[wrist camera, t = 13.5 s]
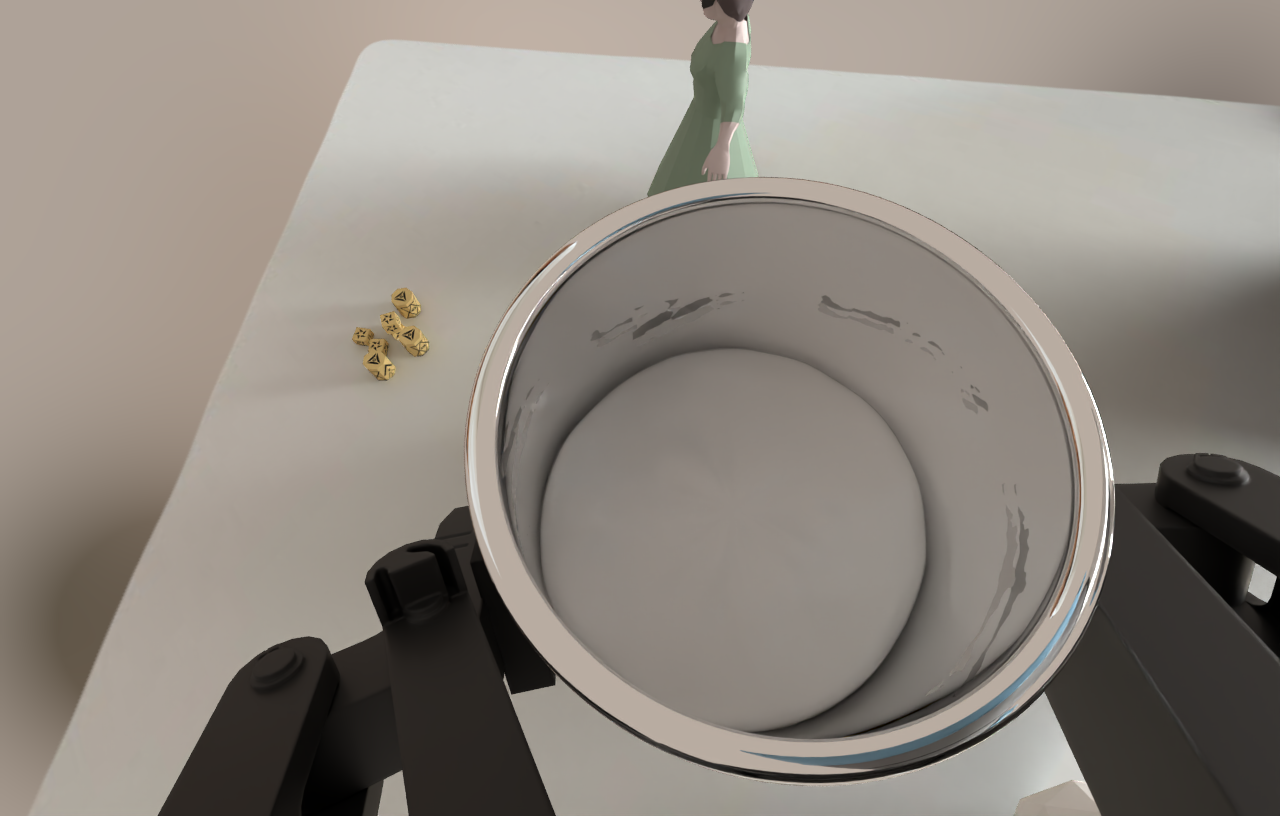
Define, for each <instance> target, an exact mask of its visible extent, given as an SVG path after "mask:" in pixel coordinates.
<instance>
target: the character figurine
mask: <svg viewBox="0 0 1280 816" xmlns="http://www.w3.org/2000/svg"><path fill="white" fill-rule="evenodd" d="M700 1H701V2H702V7H703V11H704V15H705V16H706V17H707V18H708V19H711V20H716V22H715V23H714V24H713V25H712V27H710V29H709V30H708V31H707V32H706V33H705V35H704V36H703V37H702V38H701V39H700V41H699V42H698V43H697V45H696V47H695V49H694V51H693V53H692V55H691V65H690V72H691V74H692V76H693V78H694V80H693V86H694V98H693V100H692V102H691V104H690V106H689V108H688V110H687V112H686V114H685V116H684V118H683V120H682V122H681V124H680V126H679V128H678V130H677V132H676V134H675V136H674V138H673V140H672V142H671V144H670V146H669V148H668V150H667V152H666V154H665V156H664V158H663V159H662V161H661V163H660V165H659V167H658V170H657V172H656V175H655V177H654V179H653V182H652V184H651V187H650V189H649V191H648V194H647V195H648V197H650V196H652V195H655V194H658V193H661V192H665V191H668V190H671V189H675V188H679V187H683V186H687V185H692V184H697V183H702V182H708V181H714V180H722V179H731V178H746V177H758V173H757V169H756V166H755V162H754V159H753V155H752V152H751V148H750V145H749V141H748V137H747V134H746V130H745V127H744V123H743V120H742V117H743V114H744V107H745V99H746V95H747V91H748V72H747V68H748V65H749V62H750V58H751V37H750V32H751V28H750V21H749V15H748V12H749V10H750V8H751V6H752V3H753V1H754V0H700Z"/></svg>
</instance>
